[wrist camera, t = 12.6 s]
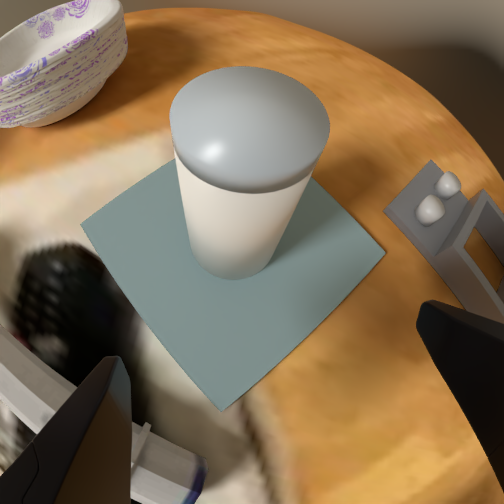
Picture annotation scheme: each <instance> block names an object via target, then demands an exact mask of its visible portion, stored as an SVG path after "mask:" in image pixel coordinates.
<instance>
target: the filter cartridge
mask: <svg viewBox="0 0 504 504" xmlns="http://www.w3.org/2000/svg"><path fill="white" fill-rule="evenodd" d="M170 124H171V132H172V139H173V146H174V153H175V159H176V166H177V172H178V178H179V185H180V191H181V197H182V202H183V208H184V214H185V219H186V225H187V230H188V235H189V241H190V246H191V250H192V253H193V255H194V257H195V259H196V261H197V262H198V264H199V265H200V266H201V267H202V268H203V269H204V270H206V271H207V272H208V273H210V274H212V275H214V276H216V277H219V278H222V279H227V280H240V279H245V278H248V277H251V276H253V275H255V274H257V273H258V272H260V271H261V270H262V269H263V268H264V267H265V266H266V265H267V264H268V262H269V261H270V259H271V257H272V255H273V253H274V251H275V249H276V247H277V245H278V243H279V241H280V239H281V237H282V235H283V233H284V231H285V229H286V227H287V225H288V223H289V221H290V218H291V216H292V214H293V212H294V210H295V208H296V206H297V204H298V202H299V200H300V198H301V196H302V194H303V191H304V189H305V187H306V185H307V183H308V181H309V179H310V177H311V175H312V173H313V170H314V168H315V166H316V164H317V162H318V160H319V158H320V156H321V153H322V151H323V149H324V147H325V145H326V143H327V140H328V137H329V132H330V122H329V118H328V114H327V112H326V109H325V108H324V106H323V104H322V103H321V101H320V100H319V99H318V97H317V96H316V95H315V94H314V93H313V92H312V91H311V90H309V89H308V88H307V87H306V86H304V85H303V84H301V83H300V82H298V81H297V80H295V79H293V78H291V77H289V76H286V75H284V74H282V73H279V72H276V71H272V70H268V69H264V68H258V67H246V66H238V67H227V68H221V69H217V70H213V71H210V72H207V73H204V74H202V75H200V76H198V77H196V78H195V79H193V80H191V81H190V82H189V83H187V84H186V85H185V86H184V87H183V88H182V89H181V90H180V91H179V92H178V94H177V95H176V96H175V98H174V100H173V102H172V105H171V109H170Z"/></svg>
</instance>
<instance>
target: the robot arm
mask: <svg viewBox="0 0 504 504" xmlns="http://www.w3.org/2000/svg"><path fill="white" fill-rule="evenodd" d="M416 328H417V331H418V333H419V335H420V337H421V338H422V340H423V342H424V344H425V346H426V348H427V350H428V352H429V354H430V356H431V358H432V360H433V362H434V364H435V366H436V367H437V369H438V371H439V372H440V374H441V375H442V377H443V379H444V380H445V382H446V384H447V385H448V387H449V389H450V390H451V392H452V394H453V395H454V397H455V399H456V400H457V402H458V404H459V406H460V407H461V409H462V411H463V413H464V414H465V416H466V418H467V420H468V421H469V423H470V425H471V427H472V429H473V431H474V432H475V434H476V436H477V438H478V440H479V442H480V444H481V446H482V448H483V450H484V452H485V454H486V456H487V457H488V460H489V462H490V464H491V466H492V468H493V470H494V472H495V475H496V477H497V479H498V481H499V483H500V486H501V488H502V490H503V492H504V324H503V323H500V322H497V321H494V320H491V319H488V318H486V317H483V316H480V315H477V314H474V313H471V312H468V311H465V310H462V309H460V308H457V307H454V306H451V305H448V304H445V303H442V302H439V301H436V300H429V301H426V302H423V303H422V305H421V307H420V311H419V315H418V318H417V322H416ZM131 452H132V415H131V386H130V379H129V376H128V374H127V371H126V369H125V366H124V364H123V362H122V359H121V358H120V357H119V356H107V357H104V358H103V359H102V360H101V362H100V363H99V364H98V365H97V366H96V367H95V368H94V369H93V370H92V372H91V373H90V374H89V375H88V376H87V377H86V378H85V379H84V381H83V382H82V383H81V384H80V385H79V386H78V387H77V389H76V390H75V391H74V392H73V393H72V394H71V395H70V397H69V398H68V399H67V400H66V401H65V402H64V403H63V405H62V406H61V407H60V408H59V409H58V410H57V412H56V413H55V414H54V415H53V416H52V417H51V419H50V420H49V421H48V422H47V423H46V424H45V426H44V427H43V428H42V429H41V430H40V432H39V433H38V434H37V435H36V436H35V438H34V439H33V442H30V443H29V445H28V446H27V447H26V448H25V449H24V451H23V452H22V453H21V454H20V455H19V456H18V458H17V459H16V460H15V461H14V462H13V463H12V465H11V466H10V467H9V468H8V469H7V470H6V471H5V472H4V473H3V474H2V475H1V476H0V504H131Z"/></svg>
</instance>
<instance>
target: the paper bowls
mask: <svg viewBox="0 0 504 504" xmlns="http://www.w3.org/2000/svg"><path fill="white" fill-rule="evenodd" d="M127 50H128V42H127V35H126V28H125V22H124V13H123V7H122V5H121V3H120V2H119V1H118V0H75V1H71V2H68V3H65V4H62V5H59V6H56V7H54V8H51V9H48V10H46V11H44V12H42V13H40V14H38V15H36V16H34V17H32V18H30V19H28V20H27V21H25V22H23V23H21V24H20V25H18V26H17V27H15V28H14V29H12V30H11V31H9V32H8V33H6V34H5V35H4V36H2V37H1V38H0V128H11V127H16V126H23V127H41V126H45V125H49V124H52V123H55V122H57V121H59V120H61V119H63V118H65V117H67V116H69V115H71V114H73V113H74V112H76V111H77V110H79V109H80V108H82V107H83V106H84V105H86V104H87V103H88V102H89V101H90V100H91V99H92V98H93V97H94V96H95V95H96V94H97V93H98V92H99V91H100V90H101V88H102V87H103V85H104V83H105V82H106V79H107V78H108V77H109V76H110V75H111V74H112V73H113V72H114V71H115V70H116V69H117V68H118V67H119V66H120V65H121V63H122V62H123V60H124V58H125V56H126V54H127Z"/></svg>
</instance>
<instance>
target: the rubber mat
mask: <svg viewBox="0 0 504 504" xmlns="http://www.w3.org/2000/svg"><path fill="white" fill-rule="evenodd" d="M80 225H81V227H82V228H83V230H84V232H85V233H86V235H87V237H88V238H89V240H90V242H91V243H92V245H93V246H94V248H95V250H96V251H97V253H98V255H99V256H100V258H101V259H102V261H103V262H104V264H105V265H106V267H107V269H108V270H109V272H110V273H111V275H112V276H113V278H114V279H115V281H116V282H117V284H118V285H119V286H120V288H121V289H122V291H123V292H124V294H125V295H126V297H127V298H128V299H129V301H130V302H131V304H132V305H133V306H134V308H135V309H136V311H137V312H138V313H139V315H140V316H141V317H142V319H143V320H144V321H145V323H146V324H147V325H148V327H149V328H150V329H151V331H152V332H153V333H154V335H155V336H156V337H157V338H158V340H159V341H160V342H161V343H162V345H163V346H164V347H165V348H166V350H167V351H168V352H169V353H170V355H171V356H172V357H173V358H174V360H175V361H176V362H177V363H178V364H179V366H180V367H181V368H182V369H183V370H184V372H185V373H186V374H187V375H188V376H189V377H190V379H191V380H192V381H193V382H194V383H195V384H196V385H197V387H198V388H199V389H200V390H201V391H202V392H203V393H204V394H205V395H206V397H207V398H208V399H209V400H210V401H211V402H212V403H213V404H214V405H215V406H216V407H217V408H218V410H219V411H220V412H222V411H223V410H224V409H226V408H227V407H228V406H229V405H231V404H232V403H233V402H234V401H235V400H237V399H238V398H239V397H240V396H241V395H243V394H244V393H245V392H246V391H247V390H248V389H250V388H251V387H252V386H253V385H254V384H255V383H257V382H258V381H259V380H260V379H261V378H262V377H263V376H265V375H266V374H267V373H268V372H269V371H270V370H271V369H272V368H273V367H275V366H276V365H277V364H278V363H279V362H280V361H281V360H282V359H283V358H284V357H286V356H287V355H288V354H289V353H290V352H291V351H292V350H293V349H294V348H295V347H296V346H297V345H298V344H299V343H300V342H301V341H303V340H304V339H305V338H306V337H307V336H308V335H309V334H310V333H311V332H312V331H313V330H314V329H315V328H316V327H317V326H318V325H319V324H320V323H321V322H322V321H323V320H324V319H325V318H326V317H327V316H328V315H329V314H330V313H331V312H332V311H333V310H334V309H335V308H336V307H337V306H338V305H339V304H340V303H341V302H342V301H343V299H344V298H345V297H346V296H347V295H348V294H349V293H350V292H351V291H352V290H353V289H354V288H355V287H356V286H357V285H358V284H359V282H360V281H361V280H362V279H363V278H364V277H365V276H366V275H367V274H368V273H369V271H370V270H371V269H372V268H373V267H374V266H375V265H376V264H377V263H378V261H379V260H380V259H381V258H382V257H383V256H384V255H385V253H386V252H385V251H384V250H383V249H382V248H381V247H380V246H379V245H378V244H377V243H376V242H375V240H374V239H373V238H372V237H371V236H370V235H369V234H368V233H367V232H366V231H365V230H364V229H363V228H362V227H361V226H360V225H359V224H358V222H357V221H356V220H355V219H354V218H353V217H352V216H351V215H350V214H349V213H348V212H347V211H346V210H345V209H344V208H343V207H342V206H341V205H340V204H339V203H338V202H337V201H336V200H335V199H334V198H333V197H332V196H331V195H330V194H329V193H328V192H327V191H326V190H325V189H324V188H323V187H322V186H320V185H319V184H318V183H317V182H316V181H315V180H314V179H313V178H312V177H310V179H309V181H308V183H307V185H306V187H305V189H304V191H303V194H302V196H301V198H300V200H299V202H298V204H297V206H296V208H295V210H294V212H293V214H292V216H291V218H290V221H289V223H288V225H287V227H286V229H285V231H284V233H283V235H282V237H281V239H280V241H279V243H278V245H277V247H276V249H275V251H274V253H273V255H272V257H271V259H270V261H269V262H268V264H267V265H266V266H265V267H264V268H263V269H262V270H261V271H260V272H258V273H257V274H255V275H253V276H251V277H248V278H245V279H240V280H227V279H222V278H219V277H216V276H214V275H212V274H210V273H208V272H207V271H206V270H204V269H203V268H202V267H201V266H200V265H199V264H198V262H197V261H196V259H195V257H194V255H193V253H192V250H191V246H190V241H189V235H188V230H187V225H186V219H185V214H184V208H183V202H182V197H181V191H180V185H179V178H178V172H177V166H176V159H173V160H172V161H170V162H168V163H167V164H165V165H164V166H162V167H160V168H159V169H157V170H156V171H154V172H153V173H151V174H150V175H148V176H147V177H145V178H144V179H142V180H141V181H139V182H138V183H136V184H135V185H133V186H132V187H130V188H129V189H127V190H126V191H125V192H123V193H122V194H120V195H119V196H117V197H116V198H115V199H113V200H112V201H110V202H109V203H108V204H106V205H105V206H104V207H102V208H101V209H100V210H98V211H97V212H96V213H94V214H93V215H92V216H90V217H89V218H88V219H86V220H85V221H84V222H82V223H81V224H80Z"/></svg>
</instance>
